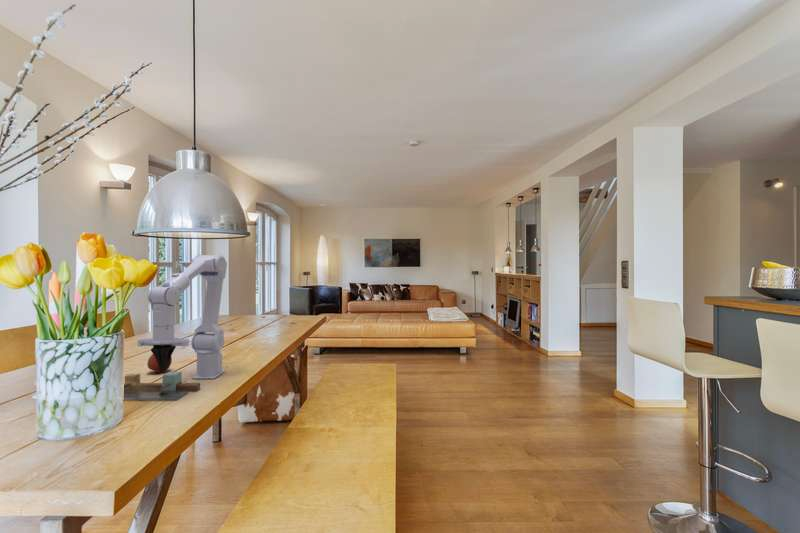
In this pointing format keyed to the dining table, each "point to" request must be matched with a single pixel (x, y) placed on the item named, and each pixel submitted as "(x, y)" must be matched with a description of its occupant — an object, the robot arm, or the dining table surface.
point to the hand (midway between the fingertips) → (163, 369)
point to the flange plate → (154, 395)
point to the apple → (156, 364)
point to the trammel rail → (155, 384)
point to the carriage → (171, 381)
